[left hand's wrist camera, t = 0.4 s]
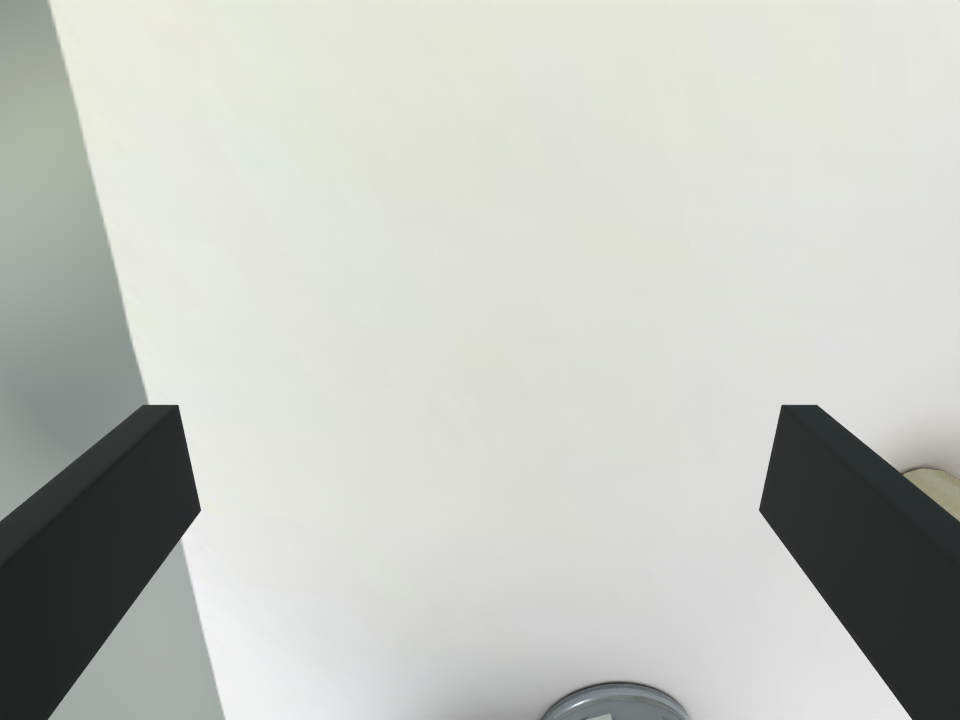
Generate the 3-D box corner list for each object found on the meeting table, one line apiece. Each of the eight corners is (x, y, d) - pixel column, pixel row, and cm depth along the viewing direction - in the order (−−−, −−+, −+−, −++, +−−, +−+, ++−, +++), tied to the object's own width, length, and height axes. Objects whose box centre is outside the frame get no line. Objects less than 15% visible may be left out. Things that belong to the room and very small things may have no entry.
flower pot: (915, 428, 44) (1014, 495, 36) (1004, 479, 45) (1116, 554, 37) (831, 517, 47) (903, 598, 39) (916, 562, 48) (1003, 648, 40)
